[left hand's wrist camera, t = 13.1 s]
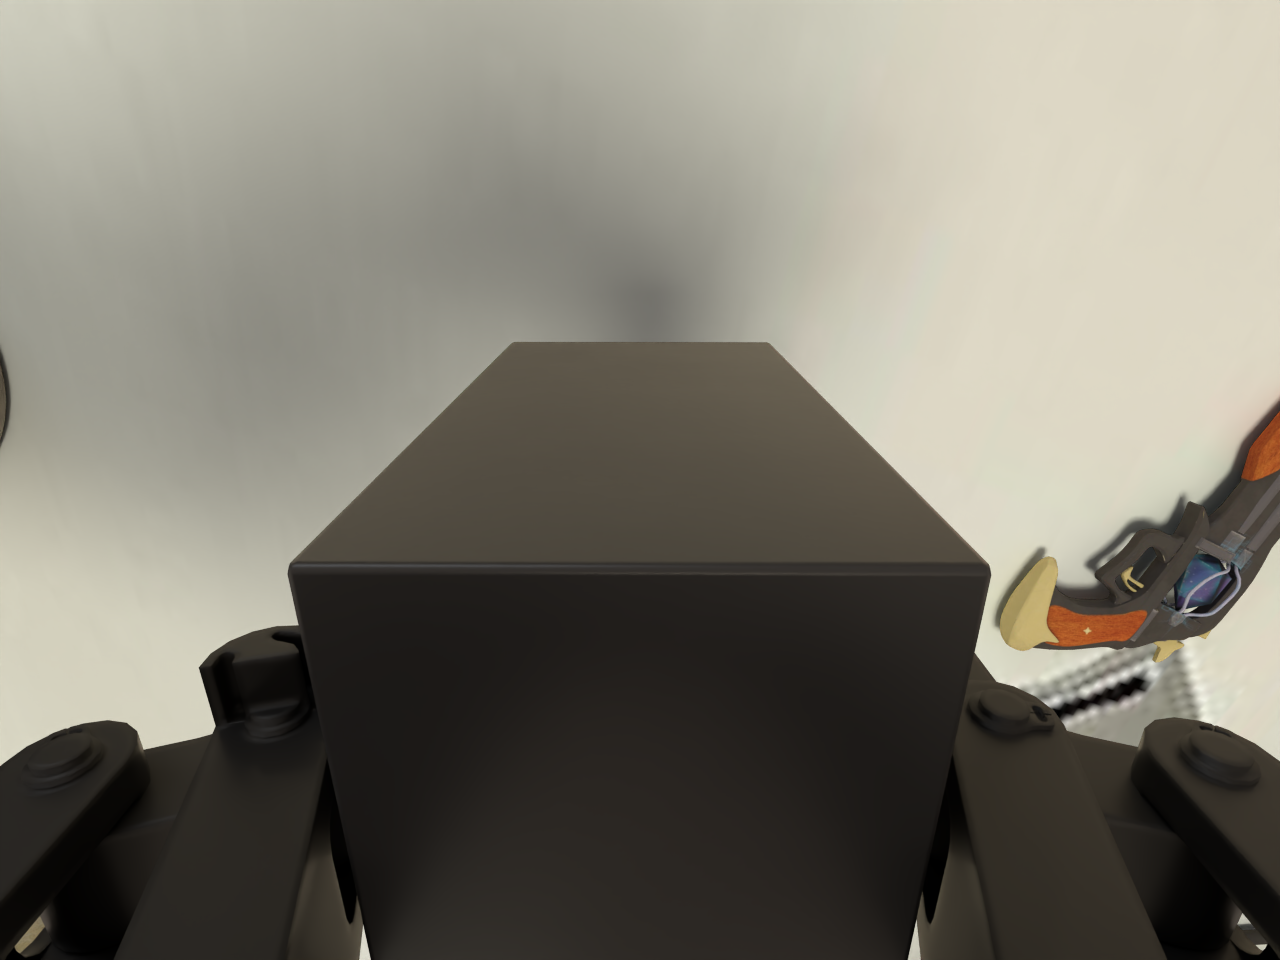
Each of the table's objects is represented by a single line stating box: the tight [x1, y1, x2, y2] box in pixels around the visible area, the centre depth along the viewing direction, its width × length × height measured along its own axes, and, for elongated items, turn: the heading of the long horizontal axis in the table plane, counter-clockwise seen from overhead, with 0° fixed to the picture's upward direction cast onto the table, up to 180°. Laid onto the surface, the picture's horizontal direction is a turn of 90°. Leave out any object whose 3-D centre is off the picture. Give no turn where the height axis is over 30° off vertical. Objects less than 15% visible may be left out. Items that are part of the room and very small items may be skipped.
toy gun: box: [1000, 411, 1280, 662], centre depth 35 cm, size 3×19×10 cm
